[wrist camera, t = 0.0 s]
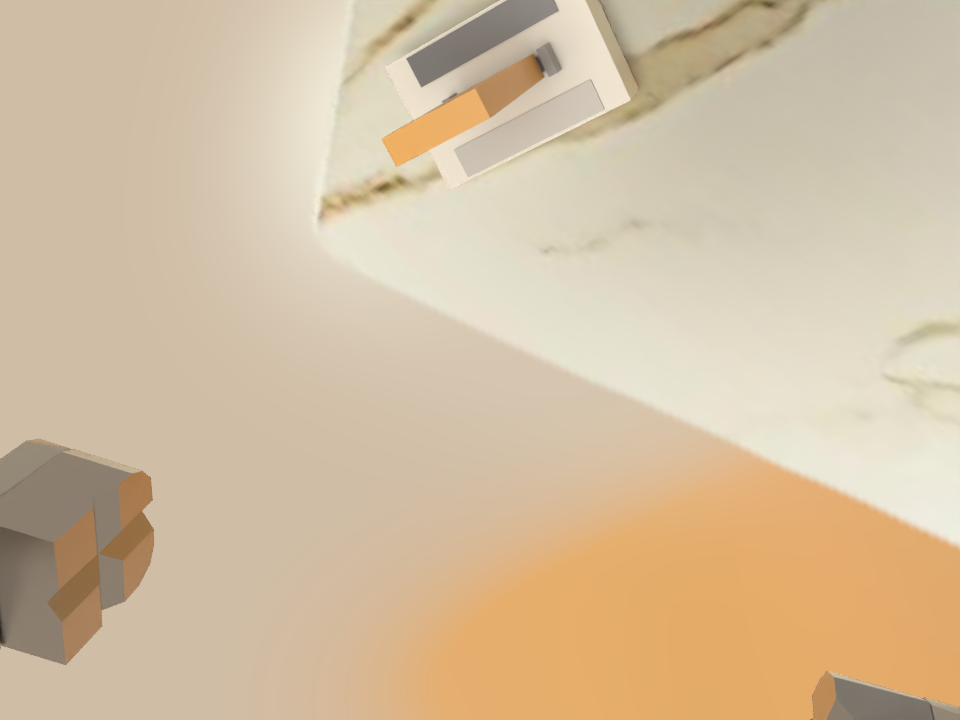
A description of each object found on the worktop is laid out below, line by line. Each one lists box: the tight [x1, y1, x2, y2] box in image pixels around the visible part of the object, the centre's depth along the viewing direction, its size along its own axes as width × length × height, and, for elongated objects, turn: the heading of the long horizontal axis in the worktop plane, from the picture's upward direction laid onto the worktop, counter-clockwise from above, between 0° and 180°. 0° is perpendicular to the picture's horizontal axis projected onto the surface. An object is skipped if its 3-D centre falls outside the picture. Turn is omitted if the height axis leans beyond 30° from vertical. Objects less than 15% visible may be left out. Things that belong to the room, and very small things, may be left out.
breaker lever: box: [382, 54, 545, 167], centre depth 46 cm, size 1×5×13 cm, turn 119°
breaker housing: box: [385, 0, 639, 190], centre depth 53 cm, size 8×12×6 cm, turn 119°
